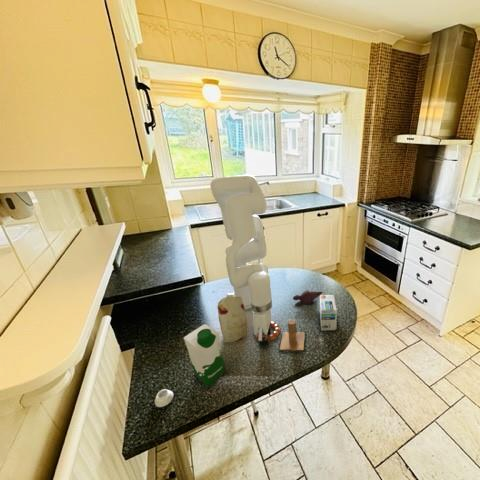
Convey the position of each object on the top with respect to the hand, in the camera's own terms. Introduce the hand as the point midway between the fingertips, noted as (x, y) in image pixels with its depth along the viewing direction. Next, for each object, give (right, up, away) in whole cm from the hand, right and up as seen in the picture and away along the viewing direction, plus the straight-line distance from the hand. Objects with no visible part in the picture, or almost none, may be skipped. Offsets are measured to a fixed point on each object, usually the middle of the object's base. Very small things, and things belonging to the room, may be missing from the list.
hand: (265, 340), depth 102 cm
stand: (+11, -1, -1) cm, 11 cm away
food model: (-12, 0, +1) cm, 12 cm away
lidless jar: (-27, -10, -22) cm, 36 cm away
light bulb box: (+25, +4, +10) cm, 27 cm away
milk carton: (-16, -7, -13) cm, 22 cm away
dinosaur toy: (+16, +9, +22) cm, 29 cm away
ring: (0, +2, +3) cm, 4 cm away
